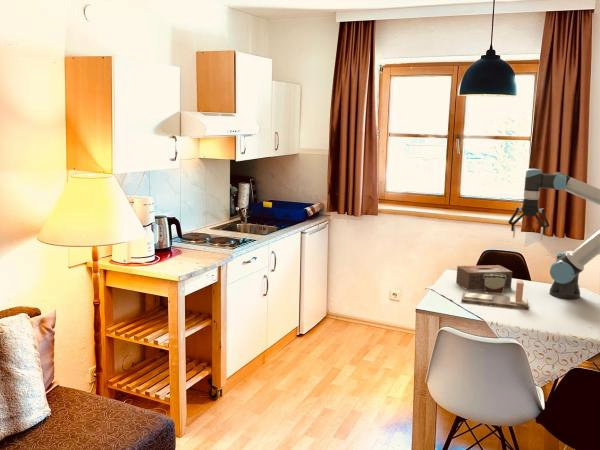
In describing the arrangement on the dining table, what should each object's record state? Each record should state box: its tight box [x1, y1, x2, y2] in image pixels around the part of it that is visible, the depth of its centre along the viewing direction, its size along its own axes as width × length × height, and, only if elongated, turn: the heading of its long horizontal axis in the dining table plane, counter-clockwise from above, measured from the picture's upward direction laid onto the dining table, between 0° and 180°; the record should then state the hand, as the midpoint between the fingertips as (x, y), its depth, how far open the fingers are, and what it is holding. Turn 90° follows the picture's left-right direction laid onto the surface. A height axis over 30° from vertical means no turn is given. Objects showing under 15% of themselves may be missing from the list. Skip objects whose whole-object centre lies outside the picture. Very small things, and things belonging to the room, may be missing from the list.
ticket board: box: [461, 291, 530, 311], centre depth 307 cm, size 32×14×2 cm, turn 72°
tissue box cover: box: [455, 264, 513, 291], centre depth 337 cm, size 26×14×10 cm, turn 100°
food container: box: [483, 272, 507, 294], centre depth 326 cm, size 12×6×10 cm, turn 84°
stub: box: [509, 279, 528, 305], centre depth 303 cm, size 8×8×10 cm
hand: (527, 238), depth 317 cm, fingers open, 13 cm apart
